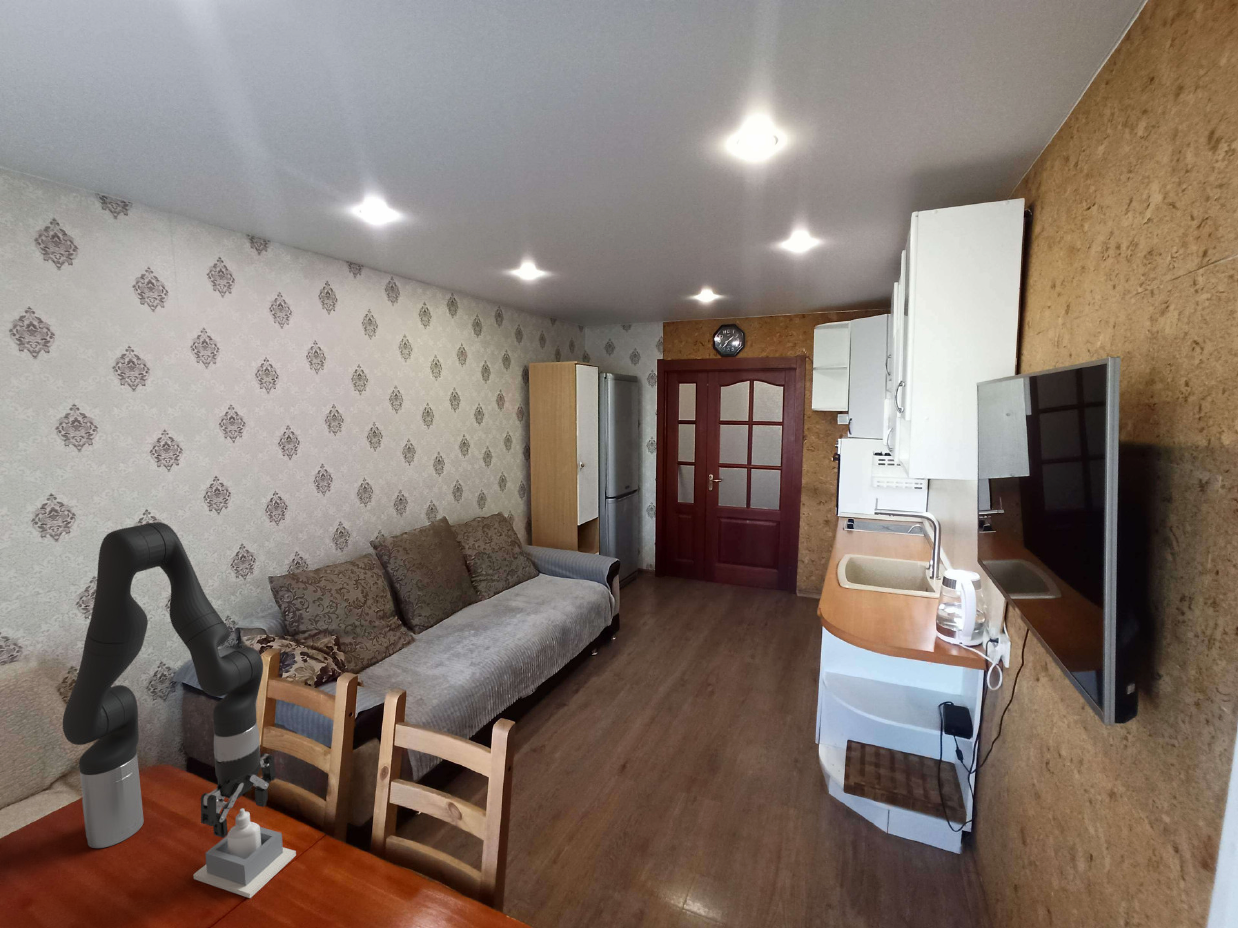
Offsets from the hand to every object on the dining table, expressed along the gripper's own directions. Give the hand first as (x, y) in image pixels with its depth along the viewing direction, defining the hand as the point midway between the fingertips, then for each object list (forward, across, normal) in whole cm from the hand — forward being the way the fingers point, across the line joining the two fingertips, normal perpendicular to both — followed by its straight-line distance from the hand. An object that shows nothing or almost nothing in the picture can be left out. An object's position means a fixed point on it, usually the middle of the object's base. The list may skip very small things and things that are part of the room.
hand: (242, 819), depth 111 cm
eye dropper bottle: (+10, 0, 0) cm, 10 cm away
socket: (+11, 0, 0) cm, 11 cm away
